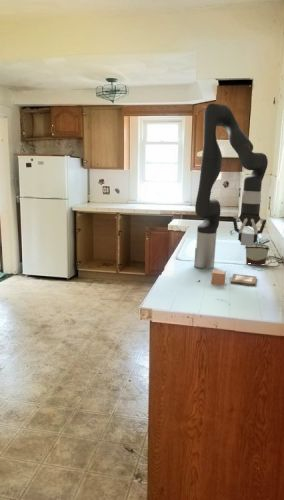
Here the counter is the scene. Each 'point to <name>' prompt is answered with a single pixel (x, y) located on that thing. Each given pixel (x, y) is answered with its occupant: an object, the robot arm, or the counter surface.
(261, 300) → the counter surface
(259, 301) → the counter surface
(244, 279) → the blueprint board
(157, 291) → the counter surface
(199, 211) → the robot arm
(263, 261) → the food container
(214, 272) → the terracotta block
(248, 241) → the slate block
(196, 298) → the counter surface
